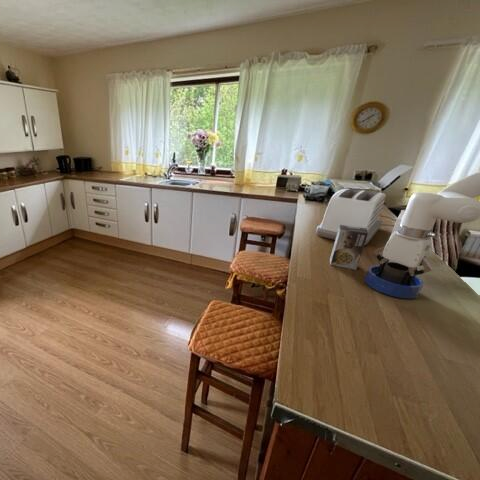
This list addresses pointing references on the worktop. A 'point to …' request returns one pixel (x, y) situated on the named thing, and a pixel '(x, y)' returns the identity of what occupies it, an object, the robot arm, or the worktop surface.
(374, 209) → the toaster
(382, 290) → the bowl
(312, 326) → the worktop surface
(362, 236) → the coffee box
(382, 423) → the worktop surface
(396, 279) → the cup
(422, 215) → the robot arm
